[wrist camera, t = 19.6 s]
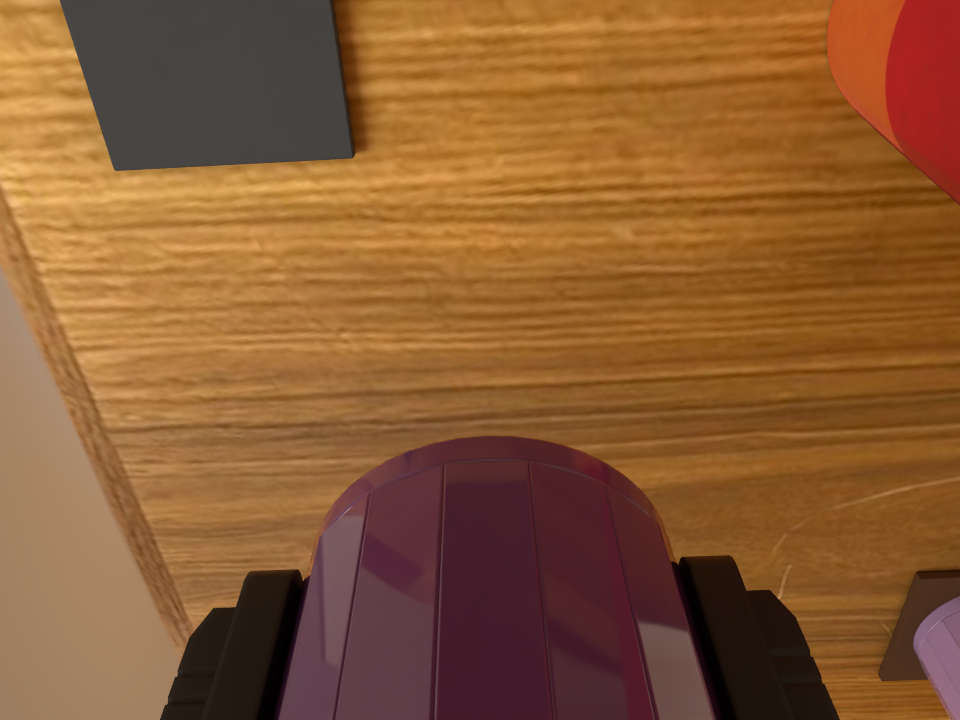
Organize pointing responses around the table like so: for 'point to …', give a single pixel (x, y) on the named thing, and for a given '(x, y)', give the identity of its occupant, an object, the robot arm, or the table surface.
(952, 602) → the lavender faceted cup
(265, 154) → the front mat
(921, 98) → the coffee cup
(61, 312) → the table surface
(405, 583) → the purple faceted tumbler
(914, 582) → the back mat
